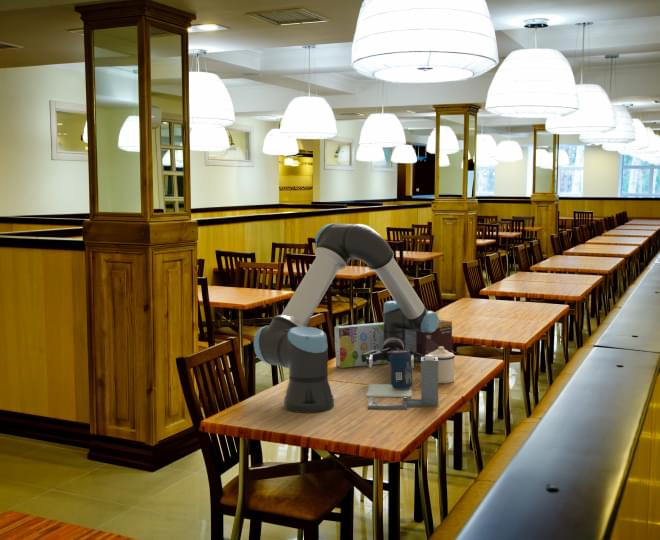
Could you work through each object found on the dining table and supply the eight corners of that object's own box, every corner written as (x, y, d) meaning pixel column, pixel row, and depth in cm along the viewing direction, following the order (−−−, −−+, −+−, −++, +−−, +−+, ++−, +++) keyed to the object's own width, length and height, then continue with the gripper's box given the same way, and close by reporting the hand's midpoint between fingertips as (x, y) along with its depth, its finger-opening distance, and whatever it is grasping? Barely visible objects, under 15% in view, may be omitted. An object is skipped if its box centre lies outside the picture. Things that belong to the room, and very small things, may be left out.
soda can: (394, 385, 251) (392, 349, 250) (415, 385, 248) (412, 348, 248) (389, 389, 244) (386, 352, 244) (410, 390, 242) (407, 352, 241)
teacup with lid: (458, 379, 260) (458, 345, 258) (449, 385, 252) (449, 350, 250) (425, 375, 265) (425, 342, 264) (415, 381, 257) (415, 347, 256)
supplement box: (452, 361, 286) (452, 320, 284) (423, 368, 277) (422, 325, 275) (433, 357, 294) (432, 317, 292) (403, 363, 285) (403, 322, 283)
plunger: (425, 374, 230) (424, 354, 230) (433, 374, 230) (433, 354, 229) (425, 376, 228) (425, 356, 227) (433, 376, 227) (433, 356, 227)
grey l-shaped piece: (370, 400, 235) (369, 355, 234) (437, 401, 233) (437, 356, 232) (368, 408, 226) (367, 362, 225) (438, 409, 224) (438, 363, 222)
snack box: (388, 361, 289) (386, 321, 288) (394, 363, 284) (392, 323, 283) (335, 366, 282) (334, 325, 282) (340, 368, 277) (339, 327, 276)
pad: (368, 385, 253) (368, 384, 253) (411, 386, 251) (411, 384, 251) (366, 397, 239) (366, 395, 239) (411, 397, 237) (411, 395, 237)
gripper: (429, 360, 266) (430, 375, 245) (358, 360, 269) (353, 374, 248) (428, 339, 265) (430, 352, 245) (357, 339, 268) (352, 351, 247)
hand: (391, 363), depth 246 cm, fingers open, 13 cm apart
